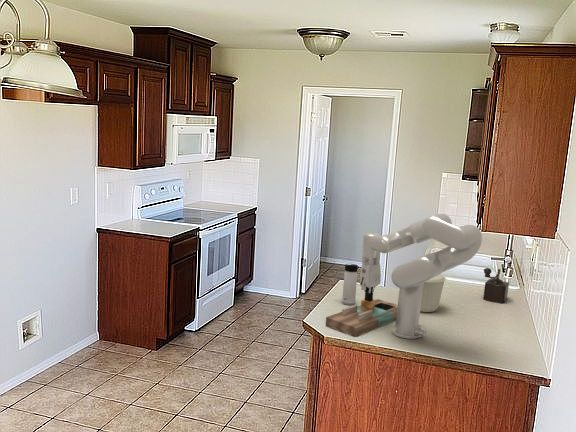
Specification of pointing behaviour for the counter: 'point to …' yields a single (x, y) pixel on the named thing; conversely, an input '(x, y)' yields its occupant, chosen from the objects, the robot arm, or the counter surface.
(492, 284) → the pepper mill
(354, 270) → the travel mug
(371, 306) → the block
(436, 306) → the canister
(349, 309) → the board
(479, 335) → the counter surface
